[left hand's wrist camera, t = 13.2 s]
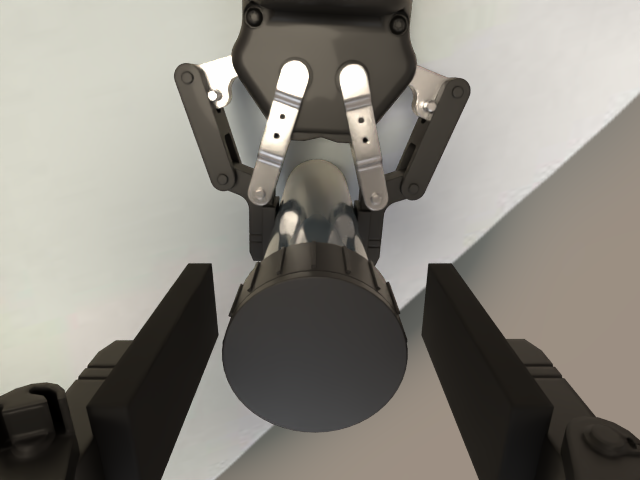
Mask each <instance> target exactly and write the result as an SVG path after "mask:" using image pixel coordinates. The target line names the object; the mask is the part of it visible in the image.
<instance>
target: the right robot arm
mask: <svg viewBox="0 0 640 480" xmlns="http://www.w3.org/2000/svg"><path fill="white" fill-rule="evenodd" d="M411 8H412V0H242V26H241V30H240V34H239V36H238V38H237V40H236V42H235V44H234V46H233V49H232V55H231V56H227V57H224V58H220V59H217V60H214V61H210V62H207V63H203V64H200V65H197V64H189V63H184V64H181V65H179V66H178V67H177V68H176V70H175V73H174V79H175V82H176V85H177V88H178V91H179V94H180V96H181V99H182V102H183V105H184V108H185V110H186V113H187V116H188V119H189V122H190V124H191V127H192V130H193V133H194V136H195V138H196V141H197V144H198V147H199V149H200V152H201V155H202V158H203V161H204V163H205V166H206V169H207V172H208V175H209V177H210V180H211V183H212V185H213V186H214V187H215V188H216V189H218V190H220V191H231V192H233V193H236V194H238V195H240V196H242V197H243V198H244V199H245V200H246V201H247V203H248V205H249V233H250V235H249V240H250V254H251V256H252V258H253V261H262V260H263V258H264V255H265V252H266V248H267V245H268V242H269V239H270V235H271V232H272V229H273V225H274V222H275V219H276V215H277V212H278V209H279V196H275V191H276V185H277V181H278V178H279V175H280V172H281V169H282V166H283V162H284V159H285V156H286V153H287V150H288V147H289V144H290V141H291V140H297V141H306V140H310V139H315V138H319V137H322V138H325V139H328V140H331V141H334V142H339V143H350V148H351V153H352V157H353V161H354V165H355V170H356V175H357V179H358V184H359V200H354V211H355V214H356V218H357V221H358V225H359V229H360V232H361V236H362V239H363V243H364V246H365V250H366V253H367V257H368V260H371V261H372V262H373V264H374V266H375V265H376V263H377V261H378V259H379V257H380V246H381V237H382V227H383V218H384V212H385V210H386V209H387V207H388V206H389V205H391V204H392V203H394V202H398V201H401V200H404V199H408V200H417V199H419V198H421V197H422V196H423V194H424V193H425V191H426V189H427V186H428V184H429V182H430V180H431V178H432V176H433V173H434V171H435V169H436V167H437V165H438V163H439V161H440V158H441V156H442V154H443V152H444V150H445V148H446V146H447V143H448V141H449V139H450V137H451V135H452V133H453V130H454V128H455V126H456V124H457V122H458V120H459V118H460V115H461V113H462V111H463V109H464V107H465V105H466V102H467V100H468V98H469V96H470V85H469V84H468V82H467V81H466V80H464V79H462V78H447V77H445V76H442V75H440V74H437V73H435V72H433V71H430V70H428V69H425V68H423V67H420V66H418V65H417V60H416V56H415V53H414V51H413V48H412V45H411V41H410V34H409V28H410V17H411ZM237 77H239V79H240V80H241V82H242V83H243V85H244V86H245V88H246V89H247V91H248V92H249V94H250V95H251V97H252V98H253V100H254V101H255V103H256V104H257V106H258V107H259V108H260V110H261V111H262V113H263V114H264V116H265V117H266V119H267V124H266V127H265V131H264V134H263V137H262V141H261V144H260V148H259V151H258V157H257V161H256V164H255V168H254V169H253V168H251V167H248V166H246V165H243V164H242V163H241V160H240V157H239V154H238V151H237V148H236V144H235V141H234V138H233V135H232V132H231V129H230V126H229V123H228V120H227V117H226V114H225V111H224V108H223V107H225V106H227V105H228V104H229V103H230V102H231V100H232V90H231V87H232V83H233V81H234V80H235V79H236V78H237ZM407 86H409V87H410V88H411V90H412V92H413V101H412V110H413V112H414V114H415V115H417V116H418V117H419V118H418V120H417V122H416V125H415V127H414V129H413V132H412V134H411V136H410V139H409V141H408V143H407V146H406V148H405V150H404V152H403V155H402V157H401V159H400V162H399V164H398V166H397V169H396V171H394V172H391V173H388V174H384V172H383V166H382V155H381V150H380V144H379V139H378V134H377V129H376V124H377V123H378V122H379V120H380V119H381V118H382V117H383V116H384V114H385V113H386V112H387V111H388V110H389V108H390V107H391V106H392V105H393V103H394V102H395V101H396V100H397V99H398V97H399V96H400V95H401V94H402V92H403V91H404V90H405V89H406V88H407Z"/></svg>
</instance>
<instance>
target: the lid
mask: <svg viewBox="0 0 640 480" xmlns="http://www.w3.org/2000/svg"><path fill="white" fill-rule="evenodd" d="M399 314H400V311H399V308H398V306H397V303H396V300H395V297H394V294H393V292H392V289H391V286H390V283H389V282H387V283H386V281H385V279H384V278H383V276H382V275H381V273H380V272H379V271H378V270H377V268H376V267H375V266H374V264H373V262H372V261H371V260H369V261H368V260H367V259H366V258H365V257H363V256H361V255H360V254H358V253H357V252H355V251H352V250H350V249H348V248H347V246H344V245H343V247H342V246H339V245H336V244H330V243H323V242H316V241H312V242H308V243H300V244H295V245H291V246H288V247H285V246H284V247H281V249H280V250H278V251H276V252H274V253H272V254H271V255H269V256H268V257H266V258H265V259H263V260H262V261H261V262H259V261H258V262H257V263H256V265H255V268H254V269H253V270H252V271H251V273H250V274H249V276H248V277H247V279H246V280H245V282H244V284H240V287H239V289H238V292H237V295H236V297H235V300H234V303H233V305H232V308H231V311H230V313H229V317H231V319H230V322H229V324H228V327H227V330H226V333H225V336H224V340H223V347H222V361H223V367H224V371H225V374H226V377H227V380H228V382H229V384H230V386H231V388H232V390H233V392H234V393H235V394H236V396H237V397H238V399H239V400H240V401H241V402H242V403H243V404H244V405H245V406H246V407H247V408H248V409H249V410H251V411H252V412H253V413H254V414H256V415H257V416H259V417H261V418H262V419H264V420H266V421H268V422H270V423H272V424H274V425H277V426H280V427H282V428H286V429H290V430H295V431H301V432H329V431H335V430H340V429H343V428H347V427H350V426H353V425H355V424H358V423H360V422H362V421H364V420H366V419H368V418H369V417H371V416H372V415H374V414H375V413H377V412H378V411H379V410H380V409H381V408H383V407H384V406H385V405H386V404H387V403H388V402H389V400H390V399H391V398H392V397H393V395H394V394H395V392H396V391H397V390H398V388H399V386H400V384H401V382H402V380H403V377H404V374H405V370H406V365H407V357H408V354H407V353H408V349H407V337H406V335H405V332H404V329H403V326H402V323H401V320H400V317H399Z"/></svg>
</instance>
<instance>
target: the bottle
mask: <svg viewBox="0 0 640 480" xmlns="http://www.w3.org/2000/svg"><path fill="white" fill-rule="evenodd" d="M312 241H316V242H323V243H330V244H336V245H339V246H342V247H343V245H344V246H347V248H348V249H350V250H352V251H355V252H357V253H358V254H360V255H361V256H363V257H365V258H366V259H367V260H368V257H367V253H366V250H365V246H364V243H363V239H362V236H361V232H360V229H359V225H358V221H357V218H356V214H355V211H354V207H353V204H352V200H351V197H350V193H349V190H348V186H347V183H346V180H345V177H344V175H343V173H342V172H341V171H340V169H339V168H338V167H336V166H335V165H334V164H332V163H330V162H328V161H325V160H321V159H312V160H308V161H305V162H303V163H301V164H299V165H298V166H296V167H295V168H294V169H293V170H292V172H291V173H290V175H289V177H288V179H287V182H286V186H285V189H284V192H283V196H282V199H281V202H280V206H279V209H278V212H277V215H276V219H275V222H274V225H273V229H272V232H271V235H270V239H269V242H268V245H267V248H266V252H265V255H264V258H263V259H265V258H266V257H268V256H269V255H271V254H272V253H274V252H276V251H278V250H280V249H281V247H284V246H285V247H288V246H291V245H295V244H300V243H308V242H312ZM368 261H369V260H368Z"/></svg>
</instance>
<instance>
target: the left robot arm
mask: <svg viewBox="0 0 640 480" xmlns="http://www.w3.org/2000/svg"><path fill="white" fill-rule="evenodd" d="M217 338H218V325H217V314H216V304H215V294H214V283H213V273H212V263H188V265H187V266H186V268H185V269H184V270H183V272H182V273H181V275H180V276H179V277H178V279H177V280H176V282H175V283H174V284H173V286H172V287H171V289H170V290H169V291H168V293H167V294H166V295H165V297H164V298H163V300H162V301H161V302H160V304H159V305H158V307H157V308H156V309H155V311H154V312H153V314H152V315H151V316H150V318H149V319H148V321H147V322H146V323H145V325H144V326H143V328H142V329H141V330H140V332H139V333H138V335H137V336H136V337H135V339H134V340H116V341H114V342H113V343H111V344H110V345H108V346H107V347H105V348H104V349H102V350H101V351H99V352H98V353H97V355H96V356H95V357H94V358H93V360H92V361H91V362H90V363H89V364H88V367H87V368H85V369H84V371H83V372H82V373H81V374H80V376H79V377H78V380H75V382H74V383H73V384H72V385H71V387H70V388H69V389H68V390H67V392H66V393H65V390H64V389H63V388H62V387H60V386H59V385H58V384H52V383H47V382H46V383H36V384H30V385H27V386H23V387H20V388H17V389H14V390H12V391H10V392H8V393H6V394H4V395H2V396H0V480H161V478H162V476H163V473H164V471H165V468H166V466H167V463H168V461H169V458H170V456H171V453H172V451H173V448H174V446H175V443H176V441H177V438H178V436H179V433H180V431H181V428H182V426H183V423H184V421H185V418H186V415H187V413H188V410H189V408H190V405H191V403H192V400H193V398H194V395H195V393H196V390H197V388H198V385H199V383H200V380H201V378H202V375H203V373H204V370H205V368H206V365H207V363H208V360H209V358H210V355H211V353H212V350H213V348H214V345H215V343H216V340H217ZM422 338H423V340H424V343H425V345H426V348H427V350H428V352H429V355H430V358H431V360H432V363H433V365H434V368H435V370H436V373H437V375H438V378H439V380H440V383H441V385H442V388H443V390H444V393H445V395H446V398H447V400H448V403H449V405H450V408H451V410H452V413H453V415H454V418H455V421H456V423H457V426H458V428H459V431H460V433H461V436H462V438H463V441H464V443H465V446H466V448H467V451H468V453H469V456H470V458H471V461H472V463H473V466H474V468H475V471H476V473H477V476H478V478H479V480H640V440H639V439H638V438H636V437H635V436H634V435H633V434H632V433H631V432H629V431H628V430H626V429H624V428H623V427H621V426H619V425H617V424H615V423H613V422H610V421H607V420H604V419H601V418H598V417H596V416H595V415H594V414H593V413H592V412H591V410H590V409H589V408H588V407H587V405H586V404H585V403H584V402H583V401H582V399H581V398H580V397H579V396H578V394H577V393H576V392H575V391H574V390H573V388H572V387H571V386H570V385H569V383H568V382H567V381H566V380H565V379H564V378H562V375H561V374H560V372H559V371H558V370H557V369H556V368H555V367H553V364H552V363H551V361H550V360H549V359H548V358H547V357H546V355H545V354H544V353H543V352H542V351H541V350H540V349H538V348H537V347H535V346H534V345H532V344H531V343H529V342H528V341H526V340H525V339H505V337H504V336H503V335H502V333H501V332H500V330H499V329H498V328H497V326H496V325H495V323H494V322H493V321H492V319H491V318H490V316H489V315H488V314H487V312H486V311H485V309H484V308H483V307H482V305H481V304H480V302H479V301H478V300H477V298H476V297H475V296H474V294H473V293H472V291H471V290H470V289H469V287H468V286H467V284H466V283H465V282H464V280H463V279H462V277H461V276H460V275H459V273H458V272H457V270H456V269H455V268H454V266H453V265H452V263H428V273H427V283H426V294H425V304H424V315H423V325H422Z"/></svg>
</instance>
